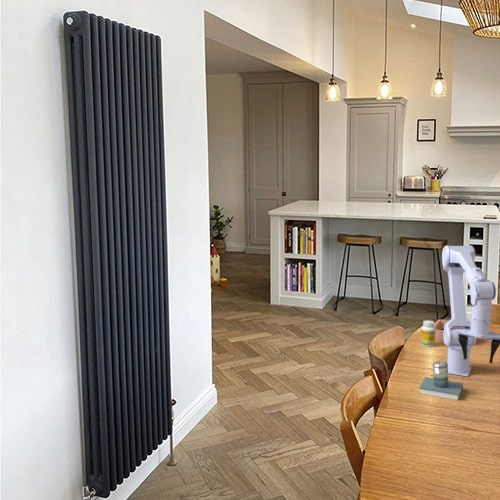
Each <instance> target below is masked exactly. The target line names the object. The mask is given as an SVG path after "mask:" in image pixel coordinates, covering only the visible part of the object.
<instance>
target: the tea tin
mask: <svg viewBox="0 0 500 500" xmlns="http://www.w3.org/2000/svg"><path fill="white" fill-rule="evenodd" d="M432 372H433V378H434V385H435V386H436V387H447V386H449V381H450V379H449V373H448V363H447V361H444V360H443V361H442V360H439V361H434V362H433V363H432Z"/></svg>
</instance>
